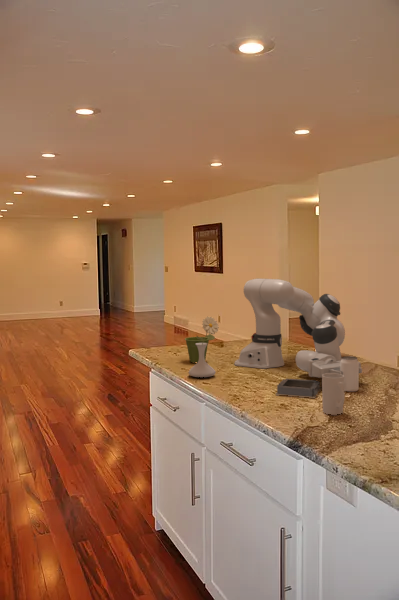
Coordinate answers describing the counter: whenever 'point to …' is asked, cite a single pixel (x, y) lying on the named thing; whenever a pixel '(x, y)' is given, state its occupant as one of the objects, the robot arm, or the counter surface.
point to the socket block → (298, 388)
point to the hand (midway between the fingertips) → (351, 372)
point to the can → (350, 373)
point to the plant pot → (195, 348)
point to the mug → (333, 393)
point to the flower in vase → (202, 367)
